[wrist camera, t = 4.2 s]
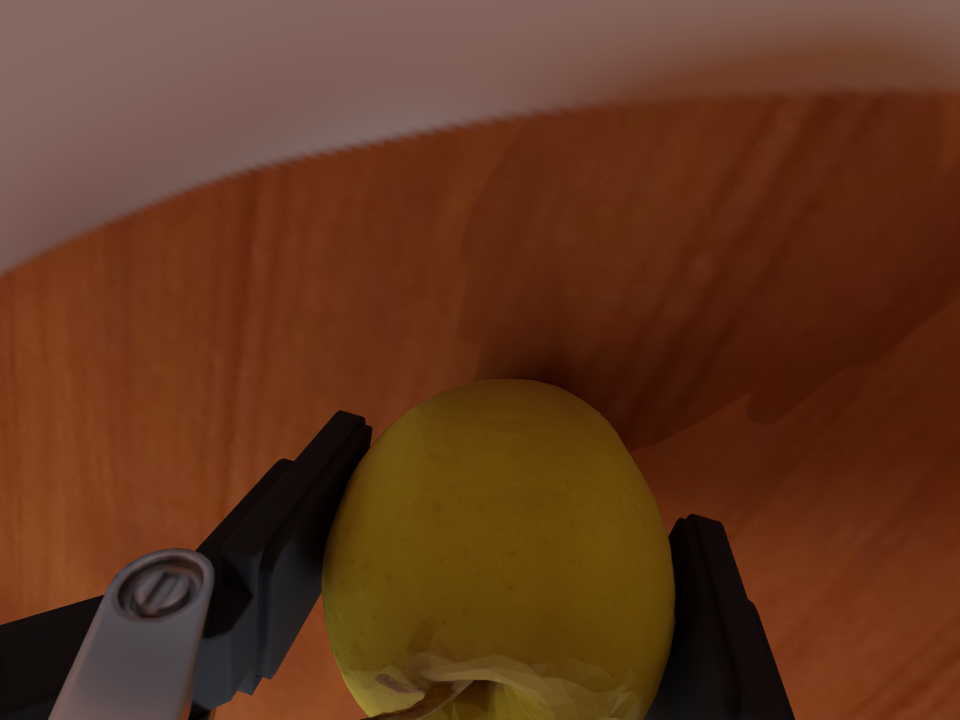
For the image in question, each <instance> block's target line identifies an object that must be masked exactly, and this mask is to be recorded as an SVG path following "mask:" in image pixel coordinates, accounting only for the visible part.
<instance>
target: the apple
mask: <svg viewBox="0 0 960 720" xmlns="http://www.w3.org/2000/svg"><path fill="white" fill-rule="evenodd" d="M321 587H322V597H323V607H324V617H325V624H326V628H327V632H328V637H329V640H330V645H331V650H332V652H333V655H334V657H335V660H336V662H337V664H338V667H339V669H340V672H341V674H342V676H343V679H344V681H345V683H346V685H347V687H348V688H349V690H350V692H351V693H352V695H353V697H354V698H355V700H356V701H357V703H358V704H359V705H360V706H361V708H362V709H363V710H364V712H365V713H366V714H367V715H368V716H369V718H365V719H361V720H643V719H644V717H645V716H646V714H647V712H648V710H649V708H650V706H651V705H652V703H653V700H654V698H655V697H656V695H657V691H658V688H659V685H660V682H661V680H662V677H663V674H664V671H665V667H666V664H667V662H668V659H669V656H670V651H671V646H672V640H673V635H674V630H675V624H676V622H675V614H674V611H675V581H674V571H673V564H672V558H671V548H670V544H669V539H668V535H667V531H666V527H665V524H664V521H663V518H662V516H661V514H660V511H659V508H658V505H657V502H656V500H655V497H654V495H653V493H652V491H651V490H650V488H649V486H648V484H647V482H646V480H645V478H644V477H643V475H642V473H641V471H640V470H639V468H638V467H637V465H636V464H635V462H634V461H633V459H632V457H631V456H630V454H629V452H628V451H627V449H626V447H625V446H624V444H623V443H622V441H621V439H620V437H619V435H618V433H617V432H616V431H615V430H614V429H613V427H612V426H611V424H610V423H609V422H608V421H607V420H606V419H605V418H604V417H603V416H602V415H601V413H600V412H598V411H596V410H595V409H594V408H592V407H591V406H589V405H588V404H587V403H586V402H585V401H583V400H581V399H580V398H578V397H576V396H575V395H573V394H571V393H569V392H568V391H566V390H564V389H562V388H559V387H557V386H555V385H551V384H547V383H543V382H540V381H535V380H524V379H479V380H476V381H473V382H470V383H467V384H465V385H463V386H461V387H458V388H455V389H451V390H448V391H445V392H442V393H439V394H437V395H435V396H433V397H431V398H429V399H427V400H425V401H424V402H422V403H420V404H418V405H416V406H414V407H413V408H411V409H410V410H408V411H407V412H406V413H405V414H403V415H402V416H401V417H400V418H399V419H397V420H396V421H395V422H394V423H393V424H392V425H391V426H390V427H389V428H387V429H386V430H385V431H384V432H383V433H382V434H381V435H380V437H379V438H378V439H377V440H376V441H375V442H374V443H373V444H372V446H371V447H370V449H369V450H368V451H367V453H366V454H365V455H364V457H363V458H362V459H361V460H360V462H359V464H358V465H357V467H356V469H355V471H354V472H353V474H352V475H351V477H350V479H349V480H348V483H347V485H346V488H345V490H344V493H343V495H342V498H341V500H340V503H339V505H338V508H337V511H336V513H335V516H334V519H333V522H332V525H331V528H330V531H329V534H328V538H327V541H326V545H325V551H324V557H323V571H322V583H321Z"/></svg>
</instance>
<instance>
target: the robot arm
mask: <svg viewBox="0 0 960 720" xmlns="http://www.w3.org/2000/svg"><path fill="white" fill-rule="evenodd" d="M365 422H366V421H365V418H364V417H362V416H358V415H355V414H351V413H348V412H345V411H341V410H340V411H338V412H337V413H336V414H335V415H334V416H333V417H332V418H331V419H330V420H329V422H328V423H327V424H326V425H325V426H324V427H323V429H322V430H321V431H320V432H319V433H318V434H317V435H316V437H315V438H314V439H313V440H312V441H311V442H310V444H309V445H308V446H307V447H306V448H305V449H304V450H303V452H302V453H301V454H300V455H299V456H298V457H297V459H296V460H295V461H291V460H288V459H281V460H279V461H278V462H277V463H276V464H274V465H273V467H272V468H271V469H270V470H269V471H268V472H267V473H266V474H265V475H264V476H263V477H262V479H261V480H260V481H259V482H258V483H257V484H256V485H255V486H254V487H253V488H252V489H251V491H250V492H249V493H248V494H247V495H246V496H245V497H244V498H243V499H242V500H241V501H240V503H239V504H238V505H237V506H236V507H235V508H234V509H233V510H232V511H231V512H230V513H229V515H228V516H227V517H226V518H225V519H224V520H223V521H222V522H221V523H220V524H219V525H218V527H217V528H216V529H215V530H214V531H213V532H212V533H211V534H210V535H209V536H208V537H207V539H206V540H205V541H204V542H203V543H202V544H201V545H200V546H199V547H198V548H197V549H196V551H193V550H190V549H181V548H172V549H164V550H158V551H155V552H152V553H149V554H146V555H144V556H142V557H140V558H138V559H136V560H135V561H133V562H131V563H129V564H128V565H127V566H126V567H124V568H123V569H122V570H121V571H120V572H119V573H118V574H117V575H116V576H115V577H114V579H113V580H112V582H111V583H110V585H109V586H108V588H107V590H106V592H105V595H101V596H98V597H95V598H91V599H88V600H84V601H81V602H78V603H74V604H71V605H67V606H64V607H61V608H57V609H54V610H50V611H47V612H44V613H40V614H37V615H34V616H30V617H27V618H23V619H20V620H17V621H13V622H10V623H6V624H3V625H0V720H214V717H215V712H216V707H217V706H220V705H222V704H224V703H226V702H229V701H231V699H232V698H233V696H234V694H235V693H236V691H237V690H238V691H241V692H244V693H247V694H249V695H252V694H253V692H254V691H255V689H256V687H257V686H258V684H259V682H260V680H261V679H262V677H265V678H268V679H271V678H272V677H273V676H274V675H275V673H276V671H277V670H278V668H279V666H280V665H281V663H282V661H283V659H284V657H285V656H286V654H287V652H288V650H289V649H290V647H291V645H292V643H293V642H294V640H295V638H296V636H297V635H298V633H299V631H300V629H301V627H302V626H303V624H304V622H305V620H306V619H307V617H308V615H309V613H310V612H311V610H312V608H313V606H314V605H315V603H316V601H317V599H318V597H319V596H320V594H321V592H322V587H321V583H322V571H323V557H324V551H325V545H326V541H327V538H328V534H329V531H330V528H331V525H332V522H333V519H334V516H335V513H336V511H337V508H338V505H339V503H340V500H341V498H342V495H343V493H344V490H345V488H346V485H347V483H348V480H349V479H350V477H351V475H352V474H353V472H354V471H355V469H356V467H357V465H358V464H359V462H360V460H361V459H362V458H363V457H364V455H365V454H366V453H367V451H368V450H369V449H370V443H371V436H372V427H371V426H368V425H365ZM668 539H669V544H670V548H671V558H672V564H673V571H674V581H675V611H674V614H675V622H676V624H675V630H674V635H673V640H672V646H671V651H670V656H669V659H668V662H667V664H666V667H665V671H664V674H663V677H662V680H661V682H660V685H659V688H658V691H657V695H656V697H655V698H654V700H653V703H652V705H651V706H650V708H649V710H648V712H647V714H646V716H645V717H644V719H643V720H795V718H794V715H793V712H792V709H791V706H790V703H789V700H788V698H787V695H786V692H785V689H784V686H783V683H782V680H781V677H780V675H779V672H778V669H777V666H776V663H775V660H774V657H773V654H772V652H771V649H770V646H769V643H768V640H767V637H766V634H765V631H764V629H763V626H762V623H761V620H760V617H759V614H758V612H757V610H756V607H755V605H754V604H753V603H752V602H751V601H750V600H748V598H747V595H746V592H745V589H744V586H743V583H742V580H741V577H740V574H739V571H738V568H737V565H736V563H735V560H734V557H733V554H732V551H731V548H730V545H729V542H728V539H727V536H726V533H725V530H724V527H723V525H722V523H720V522H719V521H715V520H712V519H709V518H705V517H702V516H698V515H695V514H690V515H689V516H688V517H687V518H686V519H683V518H679V519H678V520H677V522H676V523H675V525H674V527H673V529H672V531H671V533H670V535H669V537H668Z"/></svg>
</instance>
